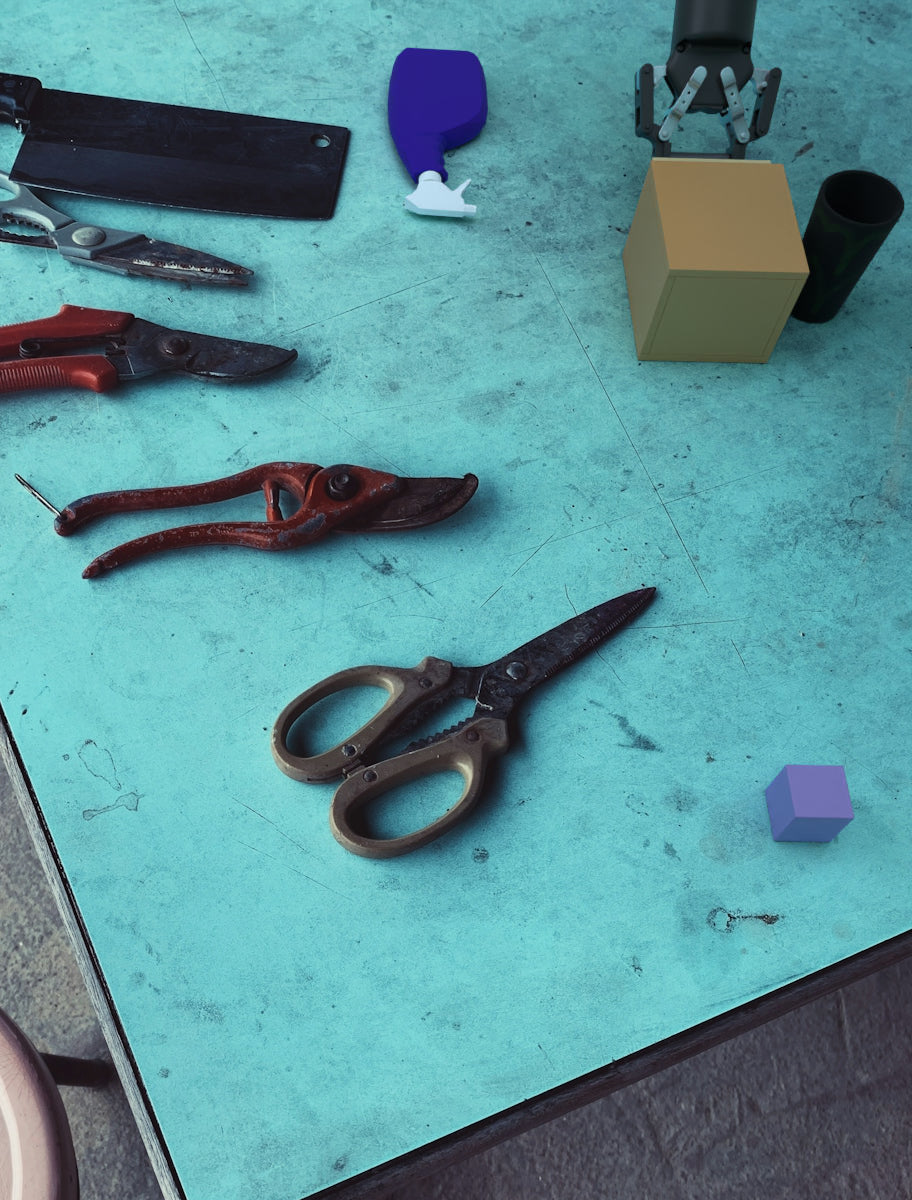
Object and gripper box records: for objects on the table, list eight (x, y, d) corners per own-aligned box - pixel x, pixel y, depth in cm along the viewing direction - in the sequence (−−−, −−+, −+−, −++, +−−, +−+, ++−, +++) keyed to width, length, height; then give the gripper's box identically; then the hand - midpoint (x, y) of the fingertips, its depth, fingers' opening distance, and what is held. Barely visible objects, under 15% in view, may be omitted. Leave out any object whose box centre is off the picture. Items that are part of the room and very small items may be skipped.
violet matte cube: (820, 791, 96) (844, 765, 92) (830, 842, 94) (855, 818, 90) (764, 790, 96) (785, 764, 92) (773, 841, 94) (795, 817, 90)
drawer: (623, 207, 124) (647, 127, 116) (733, 210, 124) (763, 130, 116) (643, 332, 116) (669, 255, 108) (759, 335, 117) (794, 258, 109)
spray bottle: (390, 44, 132) (385, 197, 121) (489, 49, 132) (492, 203, 121) (388, 70, 134) (382, 222, 124) (485, 75, 134) (487, 228, 124)
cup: (808, 266, 122) (859, 158, 111) (864, 310, 120) (922, 204, 109) (755, 296, 120) (802, 189, 109) (811, 342, 117) (865, 237, 107)
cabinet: (622, 255, 122) (650, 159, 113) (744, 258, 122) (783, 163, 113) (637, 360, 116) (669, 269, 106) (766, 363, 116) (810, 272, 107)
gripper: (653, -24, 110) (632, 179, 115) (808, -19, 110) (780, 183, 116) (631, 1, 117) (613, 191, 123) (777, 5, 117) (752, 195, 123)
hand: (694, 186), depth 119 cm, fingers open, 6 cm apart
